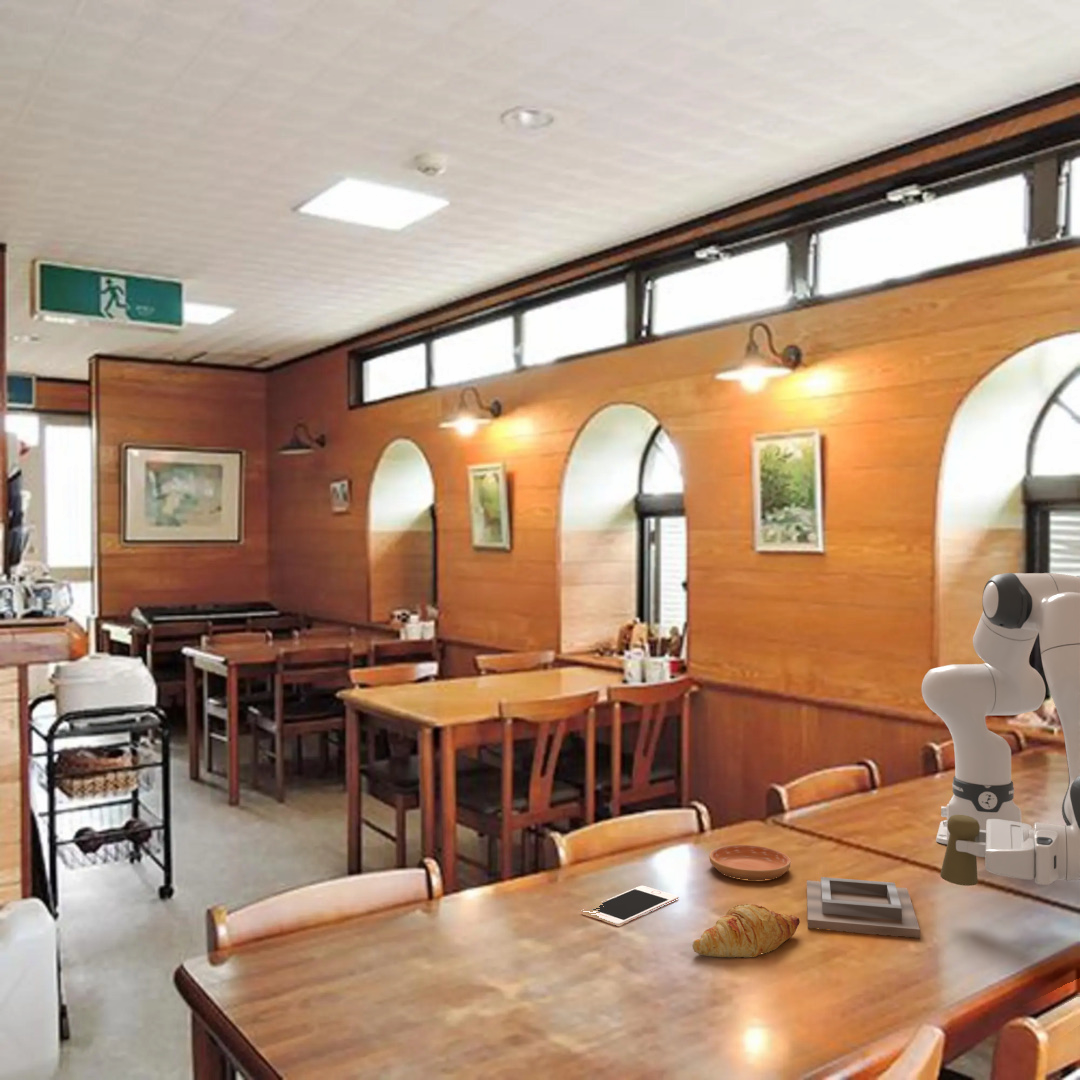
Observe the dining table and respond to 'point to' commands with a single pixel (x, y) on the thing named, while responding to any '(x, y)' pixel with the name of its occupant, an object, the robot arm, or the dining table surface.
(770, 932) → the croissant
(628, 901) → the cell phone
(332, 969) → the dining table surface
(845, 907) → the square frame holder
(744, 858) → the saucer
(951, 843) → the olive pepper mill
